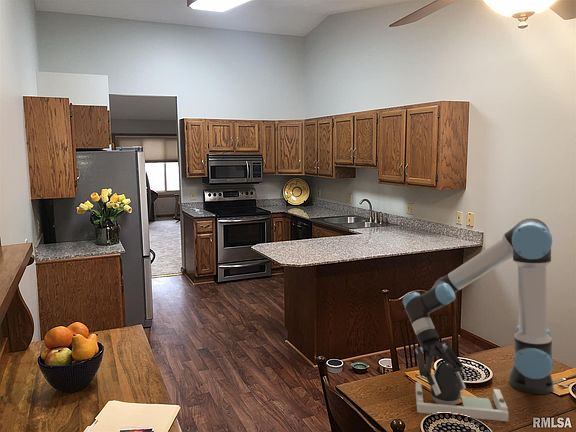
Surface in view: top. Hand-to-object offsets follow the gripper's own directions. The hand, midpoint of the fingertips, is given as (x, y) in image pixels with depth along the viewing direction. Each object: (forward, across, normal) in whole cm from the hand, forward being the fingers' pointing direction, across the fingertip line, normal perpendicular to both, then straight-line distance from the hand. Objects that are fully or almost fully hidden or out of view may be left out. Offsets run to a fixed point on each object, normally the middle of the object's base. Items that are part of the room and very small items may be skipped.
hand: (451, 391), depth 160 cm
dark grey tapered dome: (+2, 0, -6) cm, 7 cm away
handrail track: (+4, -3, -4) cm, 7 cm away
